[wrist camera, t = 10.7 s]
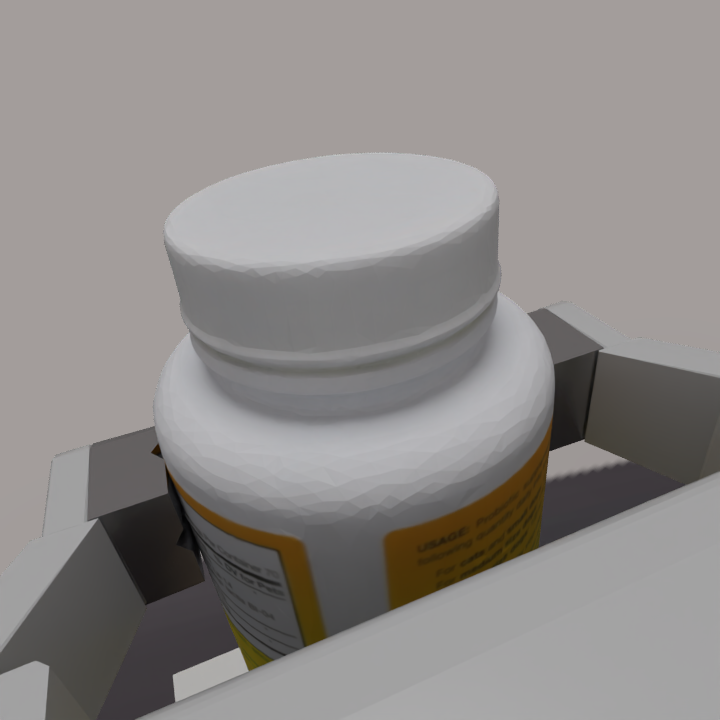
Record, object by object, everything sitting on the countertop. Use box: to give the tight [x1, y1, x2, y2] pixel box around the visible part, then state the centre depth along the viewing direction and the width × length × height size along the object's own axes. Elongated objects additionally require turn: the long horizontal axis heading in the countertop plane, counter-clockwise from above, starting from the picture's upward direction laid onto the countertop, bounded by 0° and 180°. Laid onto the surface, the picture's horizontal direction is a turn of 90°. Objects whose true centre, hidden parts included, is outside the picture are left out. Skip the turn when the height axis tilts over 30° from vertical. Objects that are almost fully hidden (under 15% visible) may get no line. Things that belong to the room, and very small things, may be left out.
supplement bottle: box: [153, 153, 555, 671], centre depth 9 cm, size 6×6×10 cm
